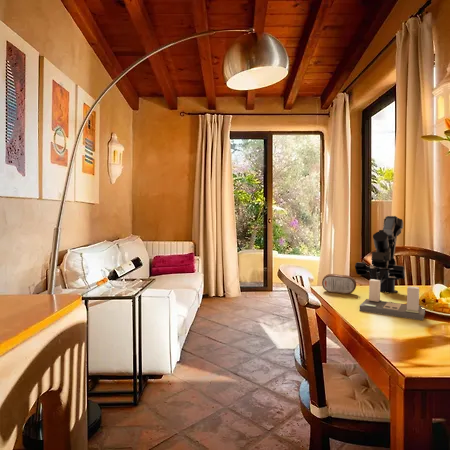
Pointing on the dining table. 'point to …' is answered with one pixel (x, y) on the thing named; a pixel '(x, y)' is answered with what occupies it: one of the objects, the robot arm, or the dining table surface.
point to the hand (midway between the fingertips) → (376, 286)
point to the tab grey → (413, 298)
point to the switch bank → (392, 309)
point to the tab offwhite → (374, 290)
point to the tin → (339, 283)
